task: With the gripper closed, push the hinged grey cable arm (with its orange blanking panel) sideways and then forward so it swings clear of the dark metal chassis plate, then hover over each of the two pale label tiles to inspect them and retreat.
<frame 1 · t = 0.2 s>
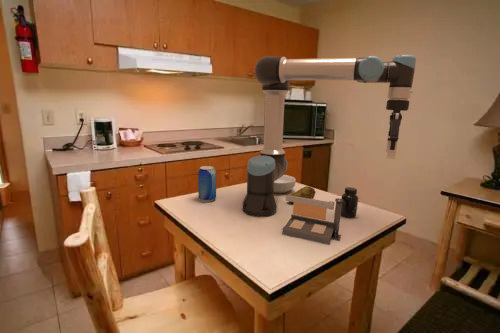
hand: (389, 155, 111), 28 cm above the table, fingers open, 13 cm apart
supplement bottle: (347, 215, 123), on the table
potato: (300, 203, 136), on the table
post: (335, 237, 102), on the table
cereal bowl: (279, 191, 152), on the table
beer can: (207, 200, 136), on the table
chassis: (308, 232, 106), on the table
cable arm: (308, 207, 104), point 10 cm above the table, hinge at 0.0°
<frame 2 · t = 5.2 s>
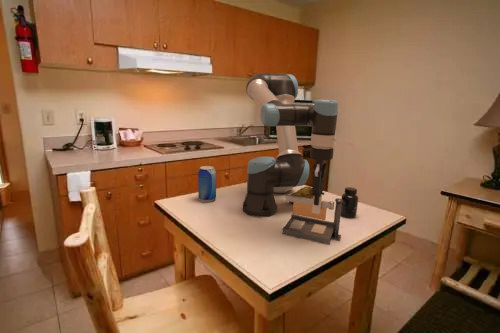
hand: (316, 212, 100), 9 cm above the table, fingers closed
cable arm: (308, 207, 104), point 10 cm above the table, hinge at 0.0°, touching gripper
everything else where it was.
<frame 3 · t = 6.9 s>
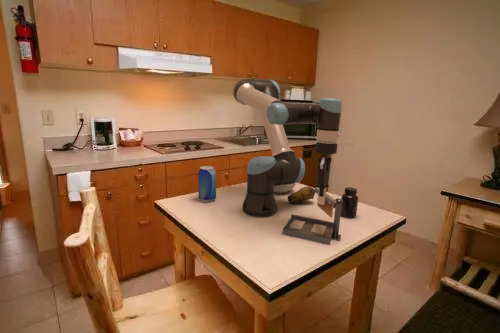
hand: (320, 203, 108), 10 cm above the table, fingers closed
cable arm: (325, 202, 110), point 10 cm above the table, hinge at 55.1°, touching gripper
everything else where it was.
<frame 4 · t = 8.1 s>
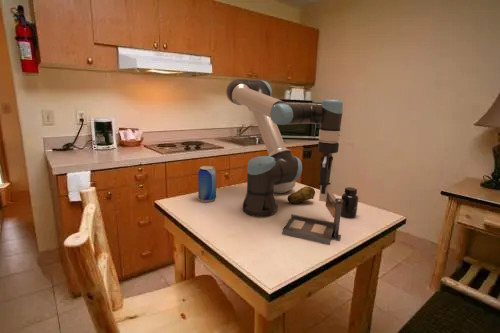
hand: (322, 200, 112), 9 cm above the table, fingers closed
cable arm: (330, 202, 110), point 10 cm above the table, hinge at 67.2°, touching gripper
everything else where it was.
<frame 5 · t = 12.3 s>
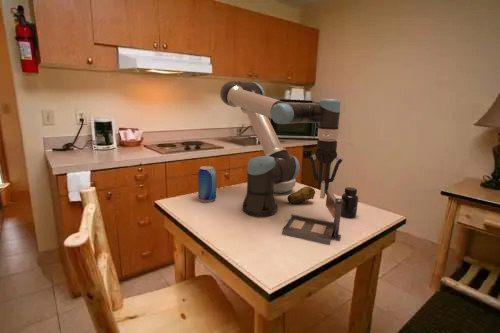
hand: (322, 197, 115), 10 cm above the table, fingers closed
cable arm: (330, 202, 110), point 10 cm above the table, hinge at 67.7°, touching gripper
everything else where it was.
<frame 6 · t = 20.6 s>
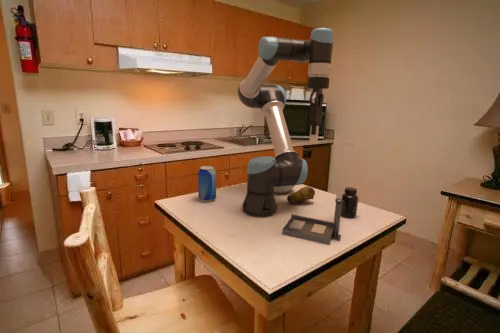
hand: (313, 143, 105), 32 cm above the table, fingers closed
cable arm: (337, 203, 109), point 10 cm above the table, hinge at 82.9°
everything else where it was.
at the end: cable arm at +83° (first picture: +0°); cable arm touching nothing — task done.
